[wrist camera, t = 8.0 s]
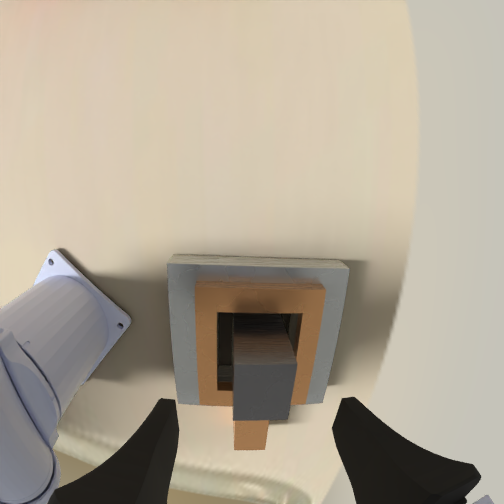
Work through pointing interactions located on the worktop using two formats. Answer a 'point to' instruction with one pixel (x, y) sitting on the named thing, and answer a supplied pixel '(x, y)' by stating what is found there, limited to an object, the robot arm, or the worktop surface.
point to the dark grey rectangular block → (261, 367)
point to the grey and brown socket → (252, 301)
